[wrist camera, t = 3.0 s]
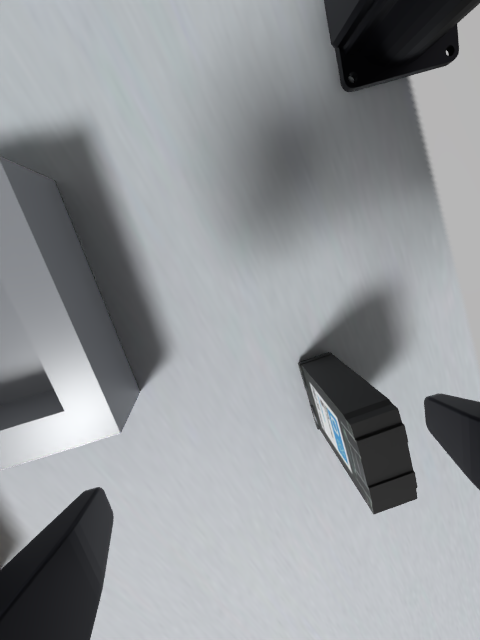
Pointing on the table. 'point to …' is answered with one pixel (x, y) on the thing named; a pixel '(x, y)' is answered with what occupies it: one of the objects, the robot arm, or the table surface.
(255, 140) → the table surface
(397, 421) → the ink cartridge
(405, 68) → the robot arm
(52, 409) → the grey square open box
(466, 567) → the table surface
